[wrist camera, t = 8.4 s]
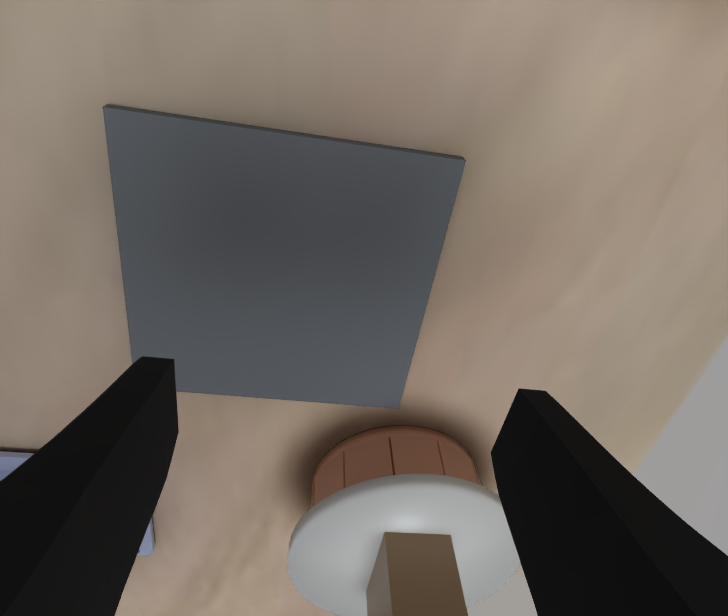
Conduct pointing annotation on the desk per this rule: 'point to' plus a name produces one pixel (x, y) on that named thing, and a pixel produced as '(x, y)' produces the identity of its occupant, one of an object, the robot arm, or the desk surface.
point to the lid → (403, 547)
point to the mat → (276, 255)
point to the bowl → (390, 458)
